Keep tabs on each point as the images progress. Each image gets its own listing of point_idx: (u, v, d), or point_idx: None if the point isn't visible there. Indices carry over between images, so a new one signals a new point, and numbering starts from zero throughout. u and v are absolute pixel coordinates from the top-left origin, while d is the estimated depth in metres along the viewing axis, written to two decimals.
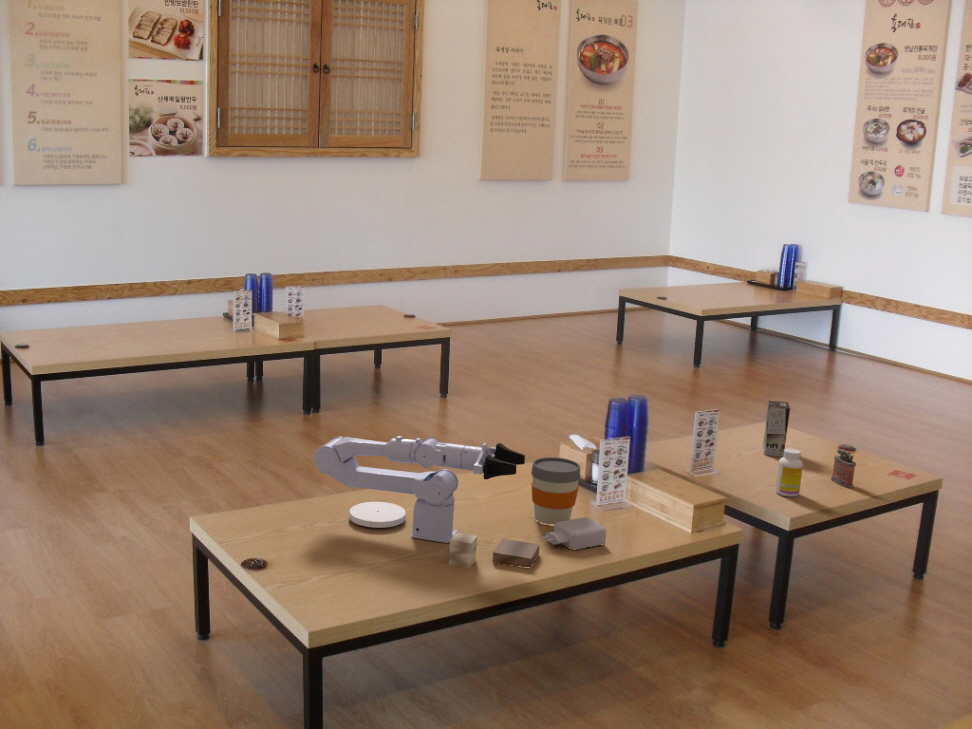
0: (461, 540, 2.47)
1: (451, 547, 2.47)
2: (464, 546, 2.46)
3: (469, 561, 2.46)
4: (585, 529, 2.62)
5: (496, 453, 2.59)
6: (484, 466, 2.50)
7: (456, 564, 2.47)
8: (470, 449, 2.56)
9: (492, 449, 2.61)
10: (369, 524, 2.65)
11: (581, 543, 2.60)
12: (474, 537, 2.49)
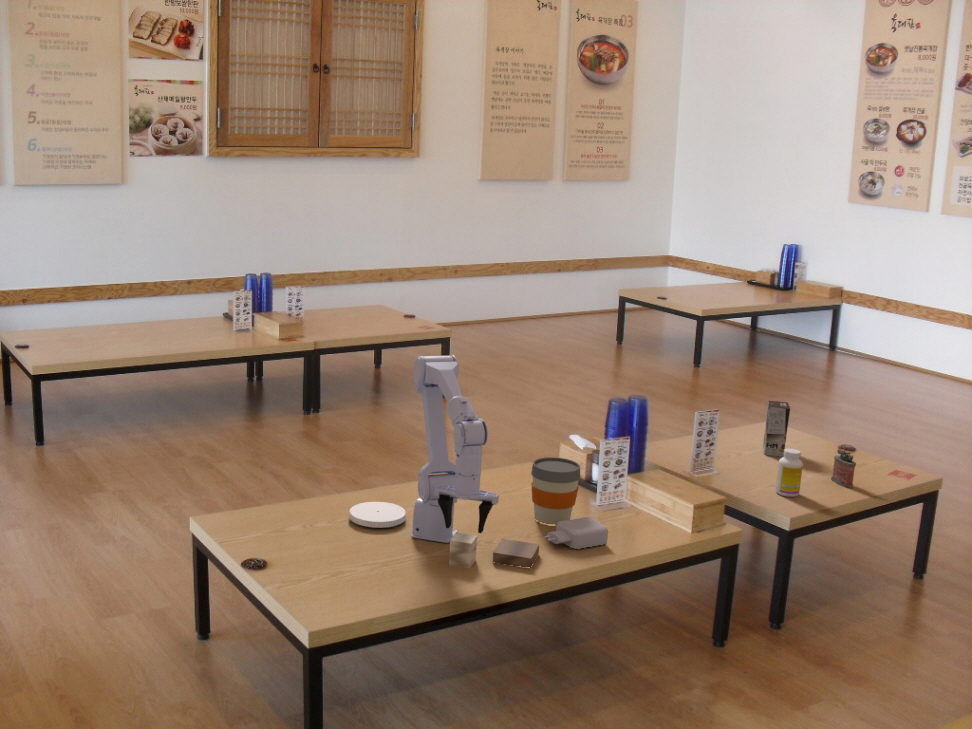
0: (461, 540, 2.47)
1: (451, 547, 2.47)
2: (464, 546, 2.46)
3: (469, 561, 2.46)
4: (587, 529, 2.62)
5: (481, 503, 2.45)
6: None
7: (456, 564, 2.47)
8: (459, 482, 2.43)
9: None
10: (369, 524, 2.65)
11: (582, 543, 2.61)
12: (474, 537, 2.49)
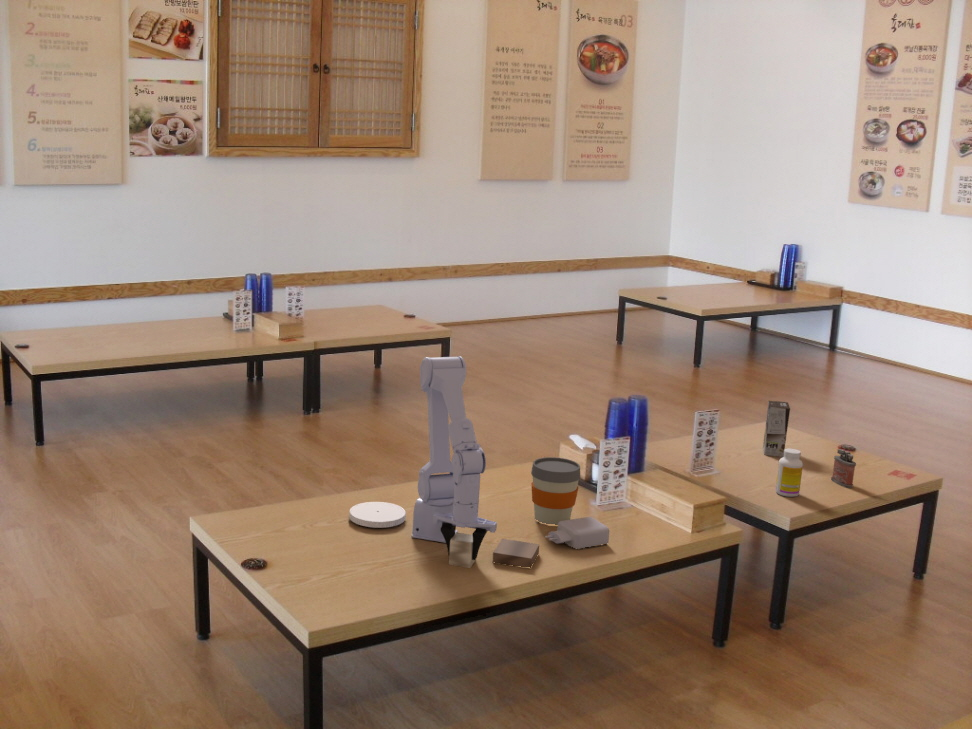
0: (461, 540, 2.47)
1: (451, 547, 2.47)
2: (464, 546, 2.46)
3: (469, 561, 2.46)
4: (589, 529, 2.63)
5: (475, 530, 2.46)
6: None
7: (456, 564, 2.47)
8: (457, 510, 2.44)
9: None
10: (369, 524, 2.65)
11: (584, 543, 2.61)
12: None
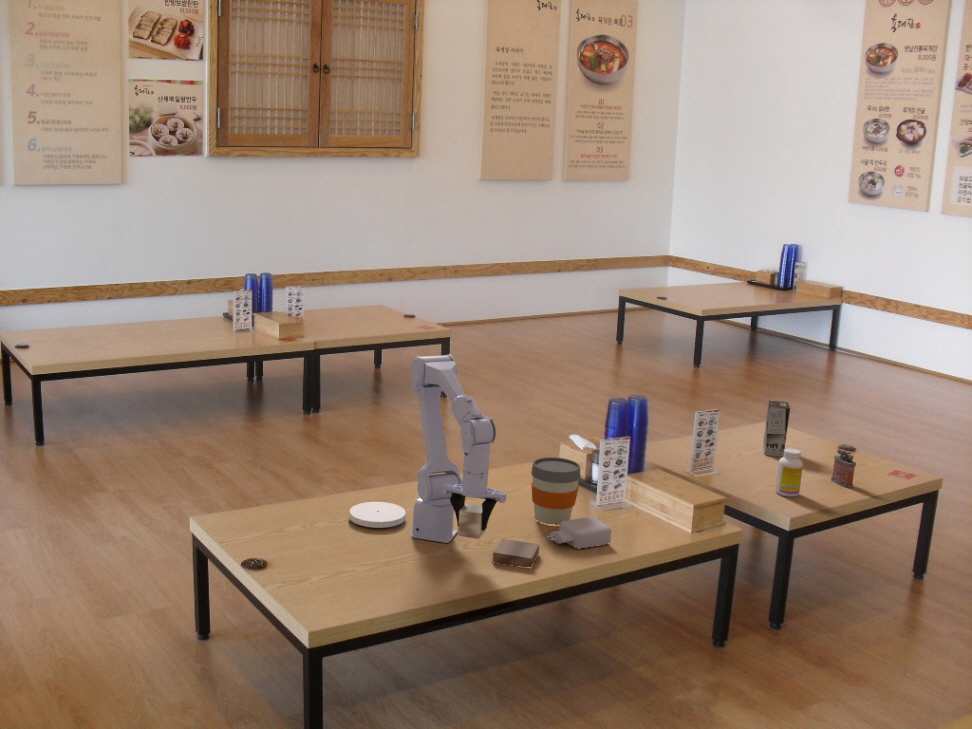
0: (470, 510, 2.46)
1: (460, 518, 2.46)
2: (474, 517, 2.45)
3: (478, 532, 2.45)
4: (590, 529, 2.63)
5: (484, 501, 2.45)
6: None
7: (465, 535, 2.46)
8: (467, 480, 2.43)
9: None
10: (369, 524, 2.65)
11: (585, 543, 2.61)
12: None
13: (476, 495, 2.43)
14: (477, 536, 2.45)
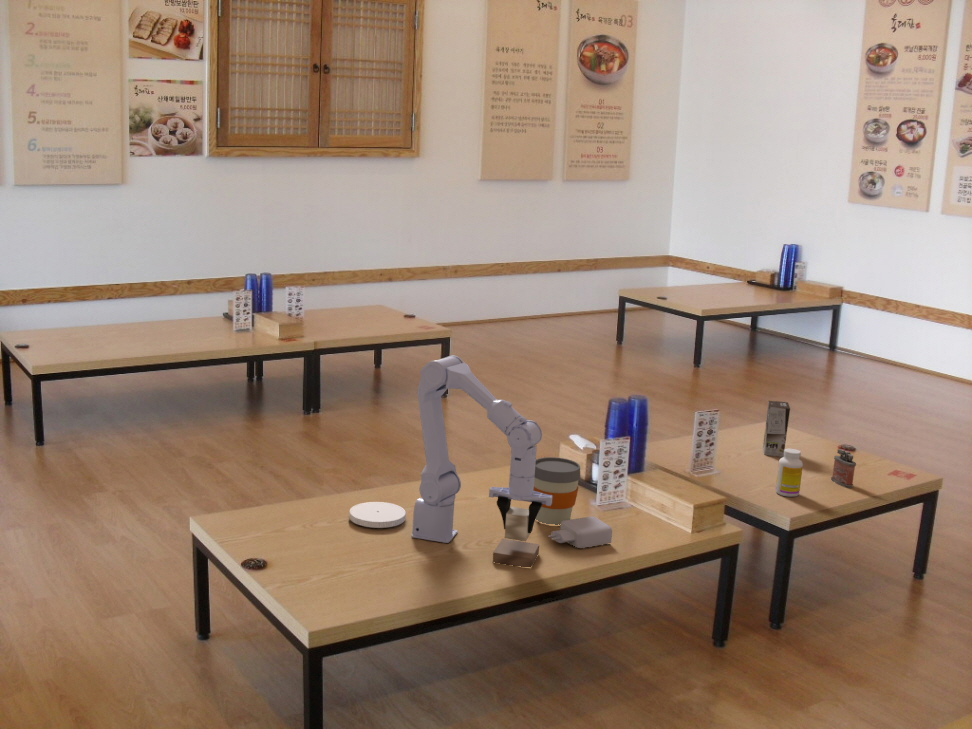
0: (517, 513, 2.49)
1: (507, 520, 2.49)
2: (520, 520, 2.48)
3: (525, 534, 2.49)
4: (591, 528, 2.63)
5: (531, 504, 2.49)
6: None
7: (512, 537, 2.50)
8: (514, 483, 2.47)
9: None
10: (369, 524, 2.65)
11: (586, 542, 2.61)
12: None
13: (523, 498, 2.47)
14: (524, 538, 2.49)
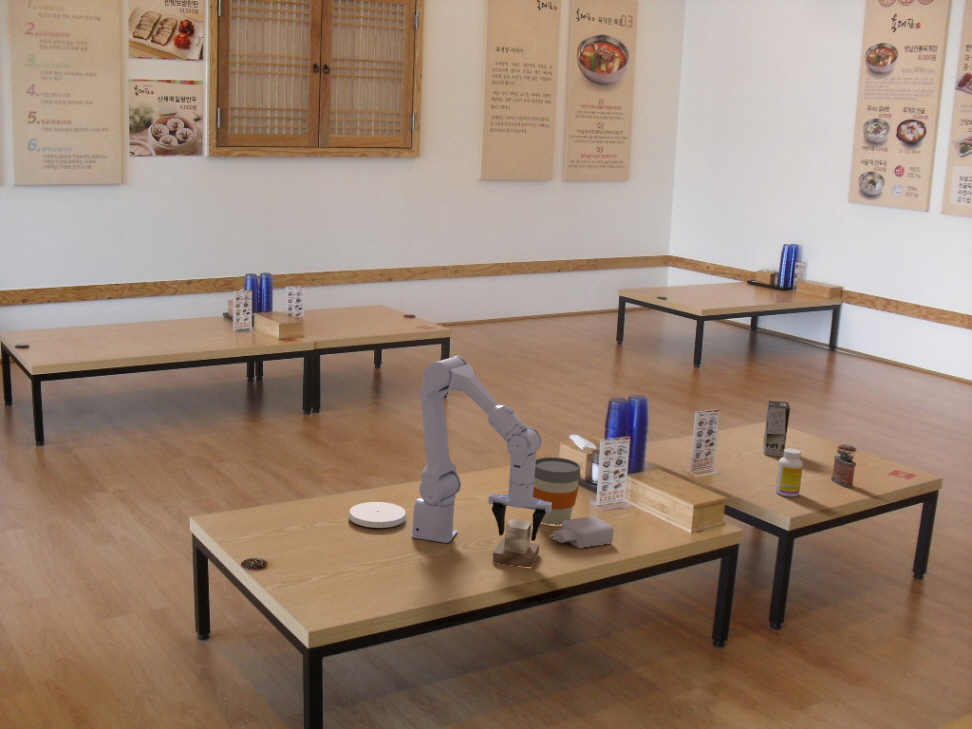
0: (516, 526, 2.50)
1: (506, 533, 2.50)
2: (520, 532, 2.49)
3: (524, 547, 2.50)
4: (593, 528, 2.63)
5: None
6: None
7: (511, 550, 2.51)
8: (513, 490, 2.47)
9: None
10: (369, 524, 2.65)
11: (587, 542, 2.62)
12: (529, 523, 2.52)
13: (522, 505, 2.47)
14: (523, 551, 2.50)
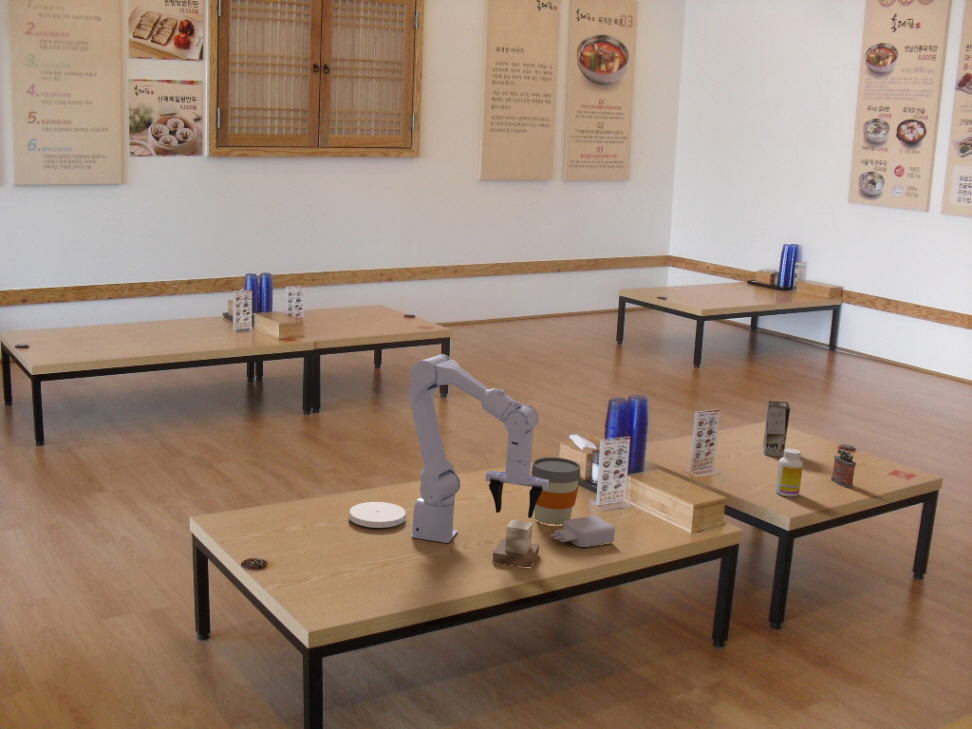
0: (517, 526, 2.50)
1: (507, 533, 2.50)
2: (521, 533, 2.49)
3: (525, 547, 2.50)
4: (594, 528, 2.63)
5: (531, 489, 2.50)
6: None
7: (512, 550, 2.50)
8: (510, 467, 2.48)
9: None
10: (369, 524, 2.65)
11: (589, 541, 2.62)
12: (530, 524, 2.52)
13: (519, 482, 2.48)
14: (524, 552, 2.50)
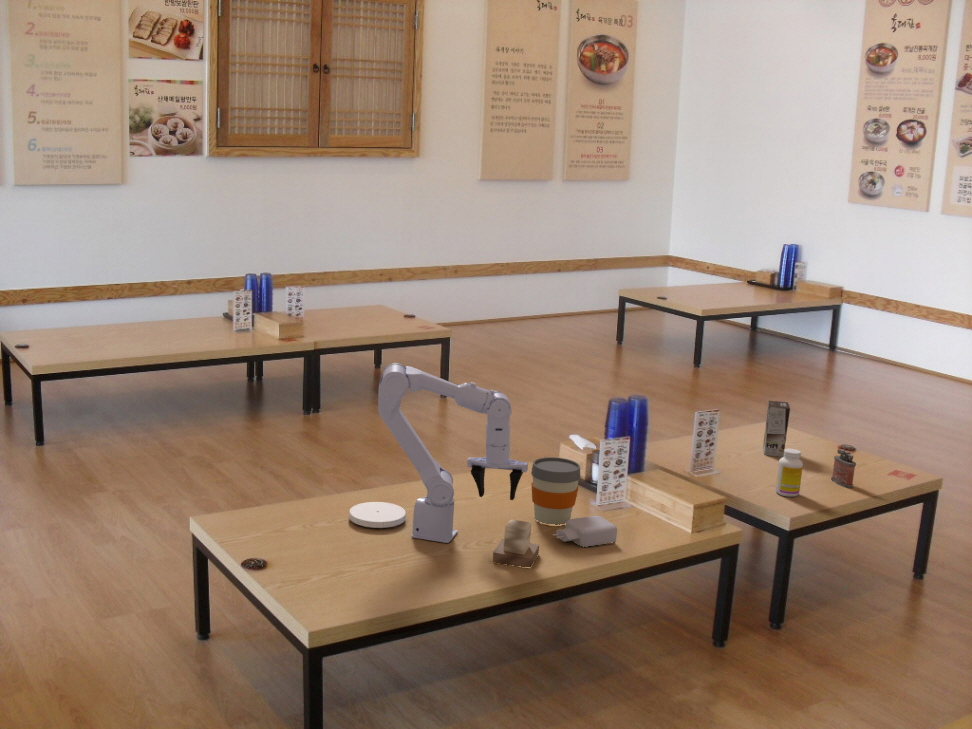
0: (516, 526, 2.50)
1: (506, 533, 2.50)
2: (519, 533, 2.49)
3: (524, 547, 2.49)
4: (596, 527, 2.64)
5: (511, 472, 2.60)
6: None
7: (511, 550, 2.50)
8: (490, 452, 2.58)
9: None
10: (369, 524, 2.65)
11: (591, 541, 2.62)
12: (528, 524, 2.52)
13: (499, 466, 2.58)
14: (522, 552, 2.50)
